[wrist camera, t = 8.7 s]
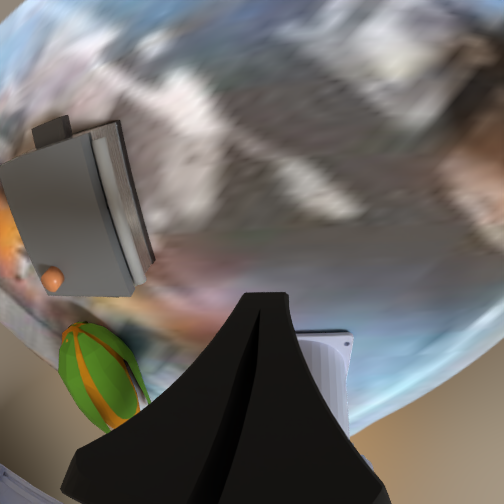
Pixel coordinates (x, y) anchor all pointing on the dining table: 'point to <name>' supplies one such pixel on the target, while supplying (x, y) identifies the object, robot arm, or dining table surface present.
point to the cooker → (119, 158)
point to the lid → (72, 219)
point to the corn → (99, 374)
